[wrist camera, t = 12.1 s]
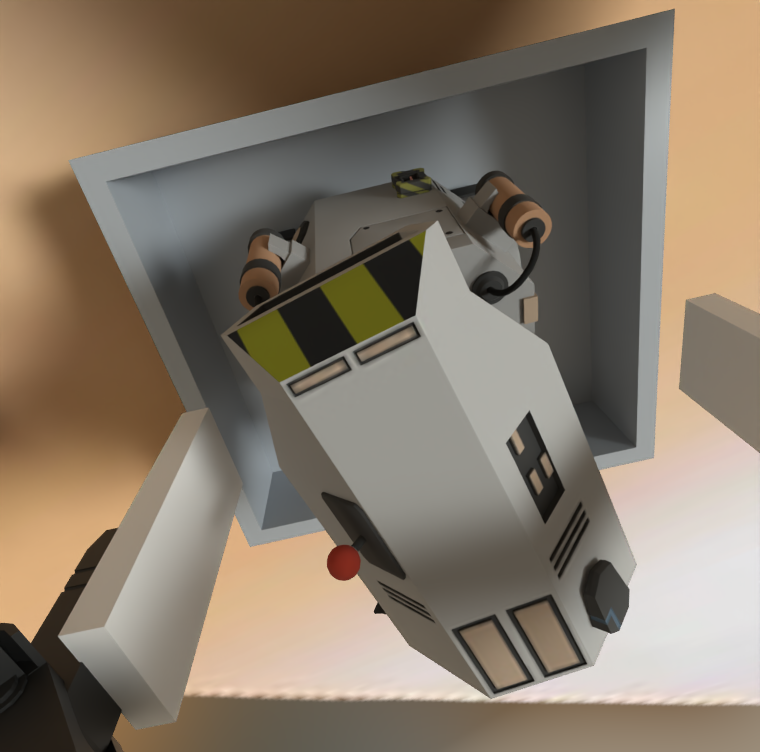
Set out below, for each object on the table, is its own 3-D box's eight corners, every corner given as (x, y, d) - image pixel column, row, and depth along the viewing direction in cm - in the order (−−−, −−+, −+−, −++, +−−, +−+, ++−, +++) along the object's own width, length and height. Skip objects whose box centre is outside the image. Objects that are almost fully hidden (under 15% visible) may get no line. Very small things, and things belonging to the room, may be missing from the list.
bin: (130, 153, 19) (68, 160, 15) (595, 37, 19) (674, 8, 14) (264, 477, 27) (250, 546, 22) (600, 402, 26) (653, 457, 22)
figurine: (329, 429, 25) (318, 776, 12) (255, 195, 20) (78, 334, 6) (506, 389, 25) (704, 698, 11) (477, 141, 19) (782, 167, 6)
